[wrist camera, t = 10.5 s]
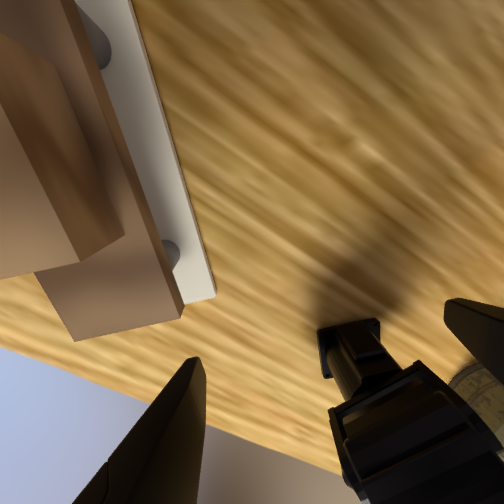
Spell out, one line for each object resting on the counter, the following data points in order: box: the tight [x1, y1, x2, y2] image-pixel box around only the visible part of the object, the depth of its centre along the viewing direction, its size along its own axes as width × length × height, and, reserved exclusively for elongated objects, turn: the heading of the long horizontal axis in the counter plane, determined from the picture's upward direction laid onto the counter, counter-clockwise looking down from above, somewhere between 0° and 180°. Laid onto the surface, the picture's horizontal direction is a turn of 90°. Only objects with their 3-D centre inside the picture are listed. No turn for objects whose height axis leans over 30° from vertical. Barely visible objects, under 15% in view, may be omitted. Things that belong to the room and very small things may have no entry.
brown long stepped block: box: [0, 0, 185, 342], centre depth 10 cm, size 20×7×6 cm, turn 12°
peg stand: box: [75, 0, 217, 304], centre depth 15 cm, size 24×10×5 cm, turn 12°
